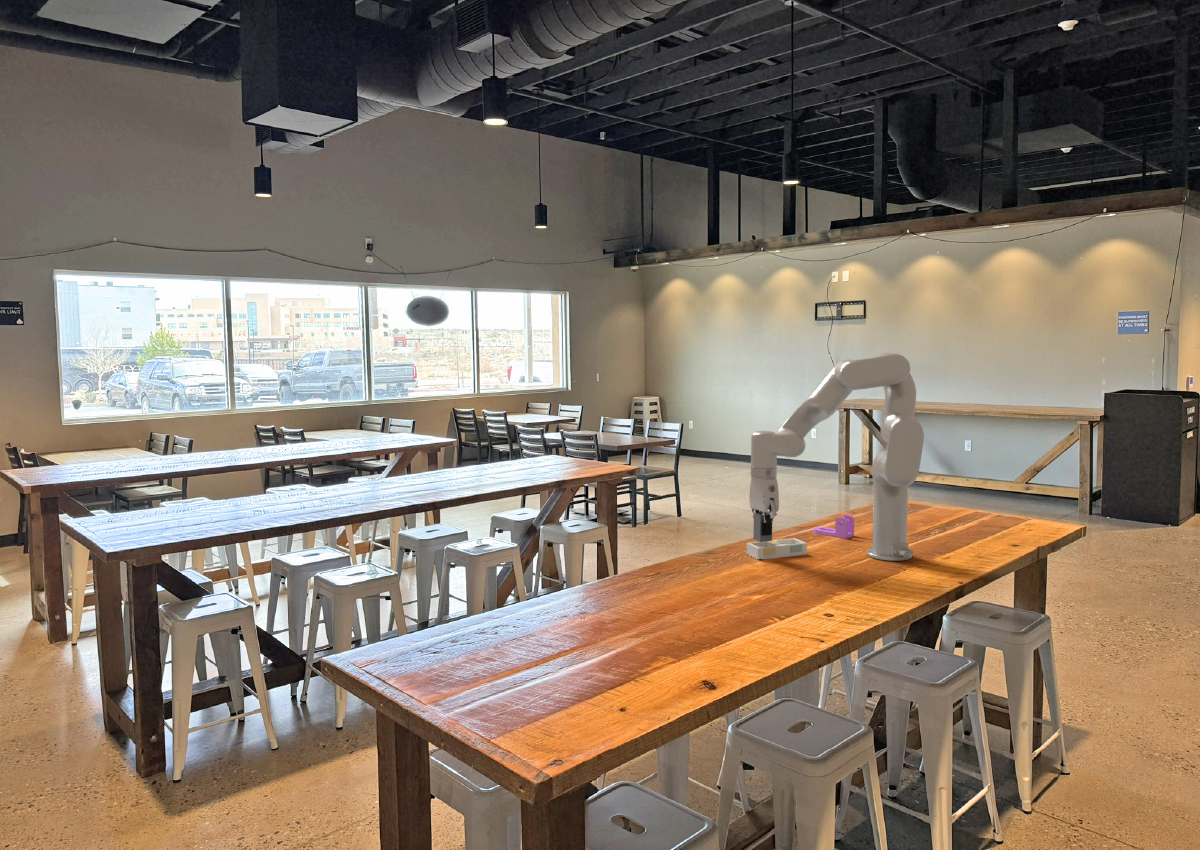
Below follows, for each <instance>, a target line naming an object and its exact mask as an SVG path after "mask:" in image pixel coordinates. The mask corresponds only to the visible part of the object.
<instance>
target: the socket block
mask: <svg viewBox="0 0 1200 850" xmlns="http://www.w3.org/2000/svg"><path fill="white" fill-rule="evenodd" d="M747 554H749V555H750V556H749V555H748V556H749V557H751V556H752V557H751V558H753V557H754V558H753V559H755V558H756V559H755V560H757V559H758V560H757V561H760V560H759V559H762V560H769V559H780V558H788V557H797V556H805V555H807V554H808V543H807V542H805V541H803V540H800V539H798V538H796V537H795V538H794V537H791V538H781V539H772V541H767V542H759V541H754V542H746V555H747Z"/></svg>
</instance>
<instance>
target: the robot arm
mask: <svg viewBox="0 0 1200 850" xmlns="http://www.w3.org/2000/svg"><path fill="white" fill-rule="evenodd" d="M823 378H824V379H823V380H822V381H821V382H820V383H819V385H818V386H817V387H816V388H815V389H814V391H813V392H812V393H811V394H810V395H809V396H808V398H806V399H805V400H804V401H803V402H802V403H801V404H800V405H799V406H798V408H797V409H795V411H793V413H792V414H790V415H789V417H788V418H787V419H786V421H785V422H784V423H783V424H782V426H781V427H780V428H779V429H778V431H777V432H774V431H769V430H758V431H757V430H756V431H754V432H752V435H751V438H750V440H751V441H750V442H751V445H750V485H749V486H750V487H749V506H750V509H751V512H752V518H753V519H754V513H759V512H762V515H763V522H762V529H761V535H763V536H766V535H772V536H773V522H774V518H775V517H776V516H777V515H778V514H777V513H778V512H779V510H780V497H779V496H780V494H779V483H778V479H777V478H778V477H777V474H778V472H777V471H778V470H777V469H778V465H777V464H778V463H777V461H778V456H779V457H785V458H796V457H799V456H801V455H802V454H803V453H804V452H805V449H806V440H805V438H806V437H807V435H808V433H809V432H810V431H812V429H813V428H815V427H816V426H817V425H818V424H819V423H821V422H823V421H825V420H827V419H829V418H830V417H831V416H832V415H834V414H835V413H836V412H837V410H838V409H839V408H840V406H841V405H842V404H843V403H844V402H845V401H846V399H847V398H848V397H849V396H850V395H851V393H852V392H853V391H857V390H859V391H860V390H867V389H875V388H880V387H883V390H884V406H883V411H882V412H883V413H882V419H881V424H880V425H881V426H880V436H881V438H882V440H883V441H884V442H885V443H887V449H884V450H881V451H880V452H878V453H877V455H875V456H874V459H873V462H872V465H871V473H872V482H873V483H872V484H873V506H872V507H873V508H872V510H873V511H872V512H873V513H872V515H873V516H872V547H870V548H868V549H866V554H867V556H868V557H870V558H873V559H877V560H882V561H893V562H894V561H895V562H899V561H900V562H902V561H907V560H910V559H912V557H913V554H914V550H912V549H910V548H909V543H908V540H907V539H908V506H909V499H908V498H909V493H908V492H909V491H908V487H909V486H911V485H913V483H914V482H915V481H916V480H917V478H918V476H919V474H920V473H919V471H920V468H921V461H922V453H923V449H924V441H925V440H924V439H925V435H924V434H925V432H924V429H923V426H922V424H921V422H919V420H917V419H916V418H915V414H916V413H915V412H916V405H917V404H916V403H917V388H916V384H915V381H914V378H913V376H912V375H911V364H910V362H909V360H908V358H906V357H905V356H904V355H902V354H899V353H891V352H890V353H889V352H883V353H879V354H877V355H875V356H874V357H870V358H861V359H842V360H840V361H839V362H837V363H836V364H835V365H834V366H833V367H832V368H831V370H830V371H829V372H828V373H827V374H826V376H825V377H823ZM766 514H769V515H767V517H766Z"/></svg>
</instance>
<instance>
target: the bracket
mask: <svg viewBox="0 0 1200 850" xmlns="http://www.w3.org/2000/svg"><path fill="white" fill-rule="evenodd" d="M812 533H813V534H816V535H820V536H821V535H822V536H828V537H833V538H840V539H843V540H844V539H845V540H846V539H847V540H848V539H849V538H852V537H854V536H855V518H854V516H853V515H852V514H844V515H843V516H839V517H837V518H836V519H835V528H832V527H826V526H815V527H813V529H812Z"/></svg>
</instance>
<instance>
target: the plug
mask: <svg viewBox="0 0 1200 850" xmlns="http://www.w3.org/2000/svg"><path fill="white" fill-rule="evenodd" d="M767 515H769V514H766V517H767ZM762 522H763V515H762V512H759V513H754V518H753V535H752V536H753V540H754V541H756V542H767V541H772V540H773V534H772V535H766V536H763V535H761V529H762Z"/></svg>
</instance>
